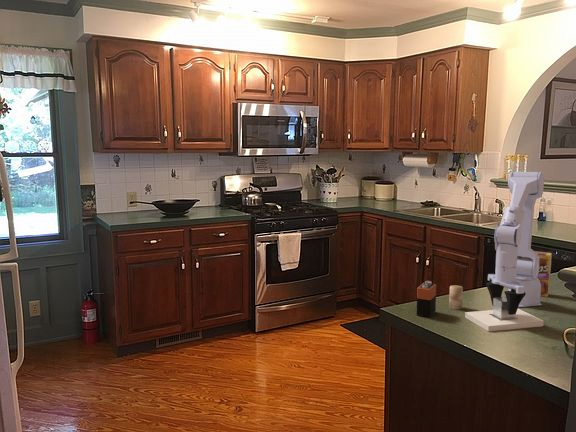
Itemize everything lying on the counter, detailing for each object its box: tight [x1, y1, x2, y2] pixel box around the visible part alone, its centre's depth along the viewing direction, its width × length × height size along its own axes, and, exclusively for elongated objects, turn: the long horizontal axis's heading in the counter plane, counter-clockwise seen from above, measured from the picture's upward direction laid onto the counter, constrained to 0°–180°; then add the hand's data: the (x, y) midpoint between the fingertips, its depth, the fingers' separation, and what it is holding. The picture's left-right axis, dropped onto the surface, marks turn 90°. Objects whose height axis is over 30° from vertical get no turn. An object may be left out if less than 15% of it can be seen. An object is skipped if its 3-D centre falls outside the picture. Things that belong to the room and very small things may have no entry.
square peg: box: [492, 296, 513, 321], centre depth 148 cm, size 4×4×7 cm
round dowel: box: [448, 284, 464, 311], centre depth 161 cm, size 4×4×7 cm
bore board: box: [464, 308, 545, 332], centre depth 148 cm, size 18×12×2 cm, turn 102°
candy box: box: [522, 250, 553, 297], centre depth 174 cm, size 9×4×15 cm, turn 56°
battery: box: [416, 280, 437, 318], centre depth 155 cm, size 4×7×10 cm, turn 148°
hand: (503, 309), depth 148 cm, fingers open, 7 cm apart
